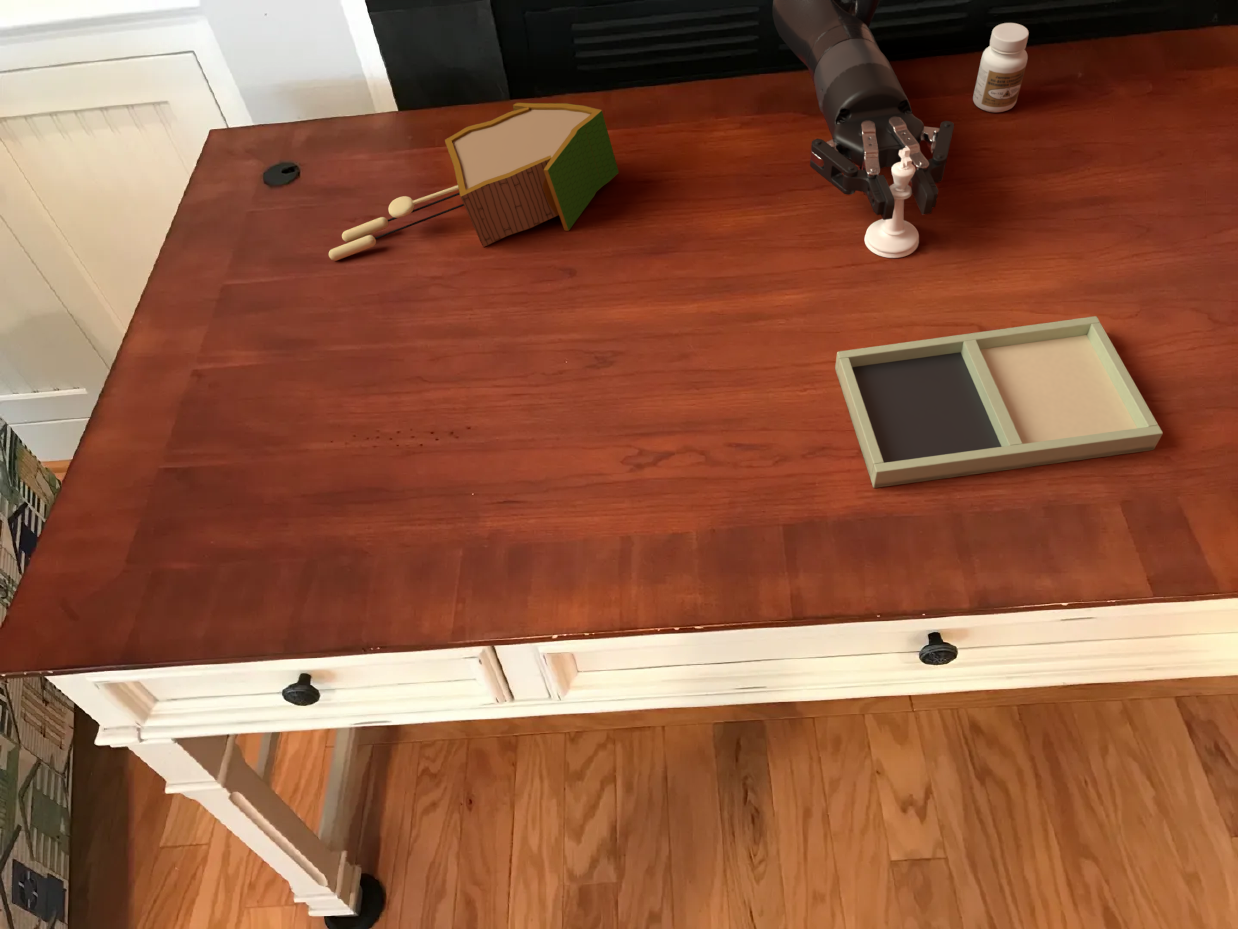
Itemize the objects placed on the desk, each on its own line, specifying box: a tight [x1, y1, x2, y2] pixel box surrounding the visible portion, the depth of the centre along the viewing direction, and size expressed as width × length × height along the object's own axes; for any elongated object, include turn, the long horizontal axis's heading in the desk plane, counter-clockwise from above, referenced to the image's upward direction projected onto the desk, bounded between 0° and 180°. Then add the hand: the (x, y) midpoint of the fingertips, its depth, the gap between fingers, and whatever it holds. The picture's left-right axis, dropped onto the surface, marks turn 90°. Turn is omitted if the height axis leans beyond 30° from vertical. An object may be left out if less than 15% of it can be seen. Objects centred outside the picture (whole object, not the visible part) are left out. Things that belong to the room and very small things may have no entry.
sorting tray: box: [834, 315, 1164, 489], centre depth 78 cm, size 22×13×2 cm, turn 95°
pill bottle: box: [972, 22, 1030, 113], centre depth 100 cm, size 4×4×8 cm
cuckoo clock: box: [328, 102, 620, 262], centre depth 97 cm, size 12×8×30 cm
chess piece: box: [863, 147, 920, 259], centre depth 88 cm, size 5×5×10 cm
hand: (909, 208), depth 85 cm, fingers open, 3 cm apart
